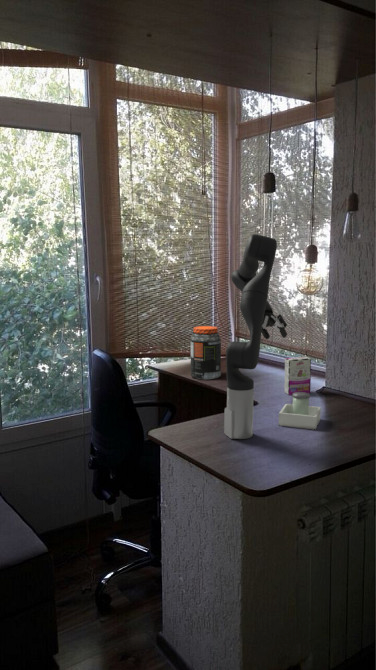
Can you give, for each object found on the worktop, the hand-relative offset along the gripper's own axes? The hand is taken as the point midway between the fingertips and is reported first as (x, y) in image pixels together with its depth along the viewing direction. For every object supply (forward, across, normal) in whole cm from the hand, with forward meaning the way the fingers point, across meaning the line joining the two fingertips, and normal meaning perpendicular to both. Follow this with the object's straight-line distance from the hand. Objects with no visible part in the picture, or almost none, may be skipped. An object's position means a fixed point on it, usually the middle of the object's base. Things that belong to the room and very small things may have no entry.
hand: (276, 337), depth 216 cm
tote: (+32, 0, +11) cm, 34 cm away
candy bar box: (+8, +29, +36) cm, 46 cm away
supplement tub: (-27, +9, +70) cm, 76 cm away
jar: (+31, +1, +11) cm, 33 cm away
